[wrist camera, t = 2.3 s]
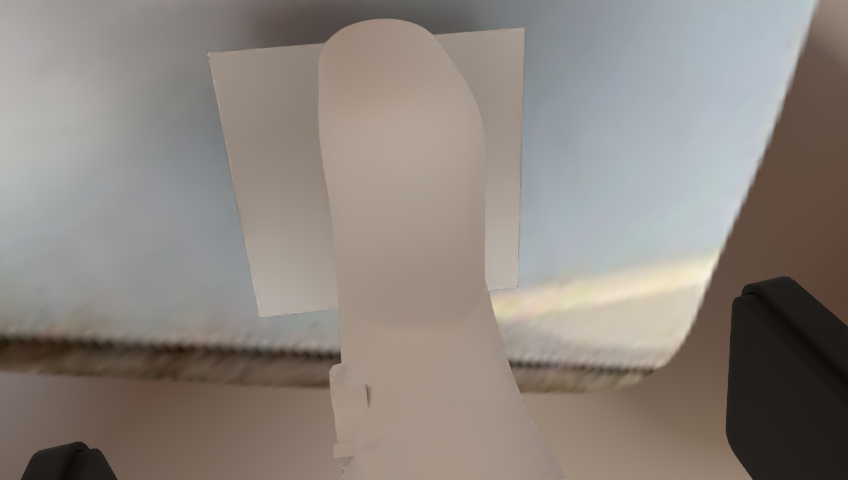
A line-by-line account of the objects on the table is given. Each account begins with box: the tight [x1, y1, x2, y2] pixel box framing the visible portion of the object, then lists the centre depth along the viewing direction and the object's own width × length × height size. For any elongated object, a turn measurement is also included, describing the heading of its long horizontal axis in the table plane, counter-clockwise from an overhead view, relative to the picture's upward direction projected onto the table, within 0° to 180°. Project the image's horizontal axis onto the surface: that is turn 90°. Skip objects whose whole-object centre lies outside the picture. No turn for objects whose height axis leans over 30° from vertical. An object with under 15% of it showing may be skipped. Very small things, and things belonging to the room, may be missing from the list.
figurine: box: [207, 19, 567, 480], centre depth 14 cm, size 7×9×15 cm
